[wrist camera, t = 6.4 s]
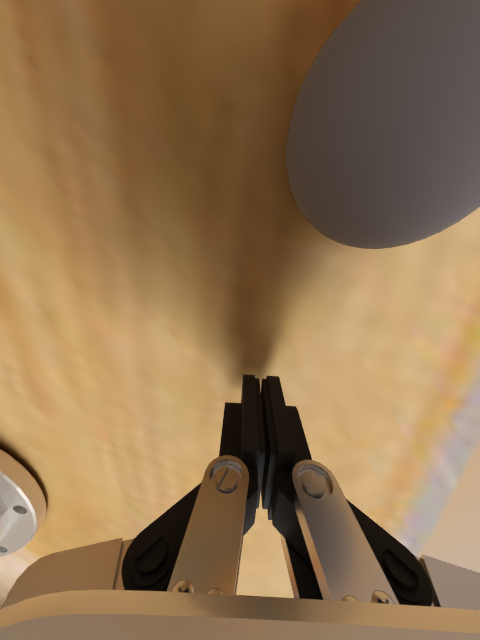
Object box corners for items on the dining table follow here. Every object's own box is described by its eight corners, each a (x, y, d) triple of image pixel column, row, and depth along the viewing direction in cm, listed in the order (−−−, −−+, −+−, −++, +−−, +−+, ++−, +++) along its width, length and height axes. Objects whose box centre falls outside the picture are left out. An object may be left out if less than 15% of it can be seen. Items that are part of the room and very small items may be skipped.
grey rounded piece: (294, -27, 6) (238, 208, 9) (689, -504, 2) (328, 262, 4) (425, 75, 8) (347, 235, 11) (736, -10, 4) (477, 290, 7)
